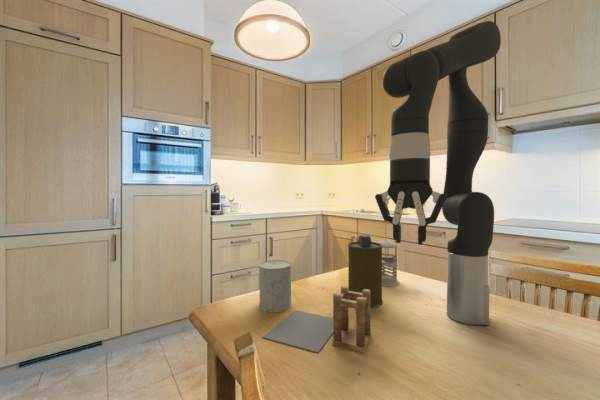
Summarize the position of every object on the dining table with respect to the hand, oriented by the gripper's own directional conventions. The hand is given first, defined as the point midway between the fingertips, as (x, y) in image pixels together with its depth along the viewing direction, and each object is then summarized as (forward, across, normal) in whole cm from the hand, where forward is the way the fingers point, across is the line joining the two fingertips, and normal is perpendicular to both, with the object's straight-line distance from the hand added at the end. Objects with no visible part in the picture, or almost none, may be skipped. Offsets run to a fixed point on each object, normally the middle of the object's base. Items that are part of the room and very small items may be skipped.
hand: (409, 242), depth 57 cm
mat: (+23, +24, 0) cm, 33 cm away
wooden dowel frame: (+23, +12, 0) cm, 26 cm away
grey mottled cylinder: (+23, +38, -9) cm, 46 cm away
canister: (+23, +15, -24) cm, 37 cm away
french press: (+23, +13, -44) cm, 51 cm away
